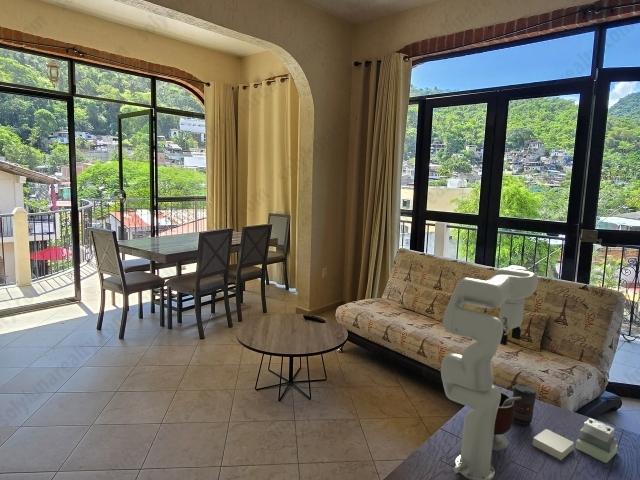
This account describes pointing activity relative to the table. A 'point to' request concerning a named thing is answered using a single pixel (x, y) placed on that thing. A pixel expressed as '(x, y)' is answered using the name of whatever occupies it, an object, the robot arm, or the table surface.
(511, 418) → the mate gourd
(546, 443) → the stand
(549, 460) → the table surface
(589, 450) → the stand
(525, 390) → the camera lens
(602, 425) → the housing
